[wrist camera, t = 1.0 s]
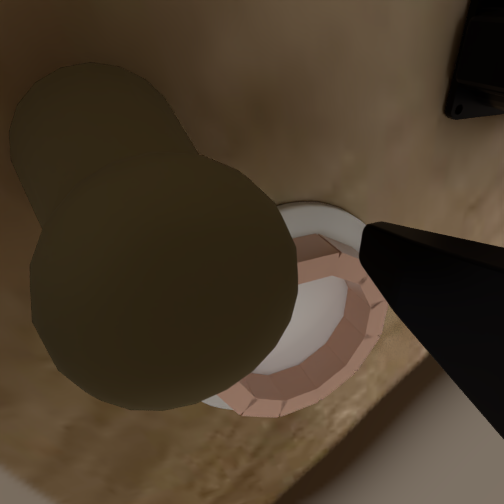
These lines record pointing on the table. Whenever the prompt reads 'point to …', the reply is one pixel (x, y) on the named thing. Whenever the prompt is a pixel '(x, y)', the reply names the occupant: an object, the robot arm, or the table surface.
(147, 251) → the brown peg
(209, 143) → the table surface
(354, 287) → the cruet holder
